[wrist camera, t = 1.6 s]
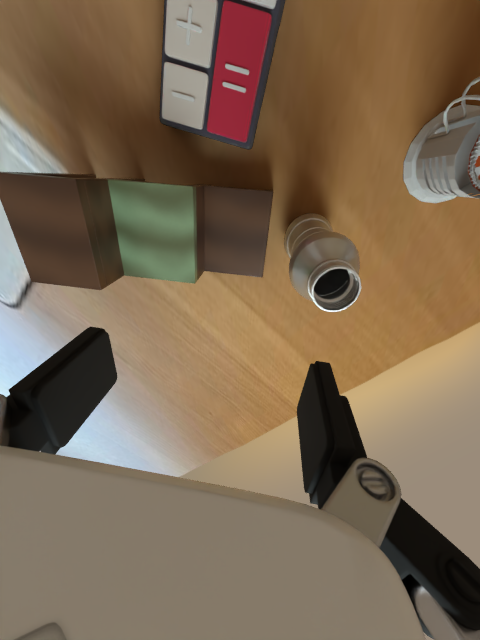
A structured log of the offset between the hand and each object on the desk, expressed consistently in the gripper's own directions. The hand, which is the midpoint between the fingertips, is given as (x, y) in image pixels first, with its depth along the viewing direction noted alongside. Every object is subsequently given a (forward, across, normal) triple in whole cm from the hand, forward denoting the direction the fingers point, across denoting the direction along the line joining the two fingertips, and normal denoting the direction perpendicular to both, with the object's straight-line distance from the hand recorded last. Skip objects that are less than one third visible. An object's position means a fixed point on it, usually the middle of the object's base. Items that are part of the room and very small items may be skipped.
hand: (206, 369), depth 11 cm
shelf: (+29, +11, -1) cm, 31 cm away
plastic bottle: (+30, -7, -1) cm, 30 cm away
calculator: (+29, +6, -19) cm, 36 cm away
